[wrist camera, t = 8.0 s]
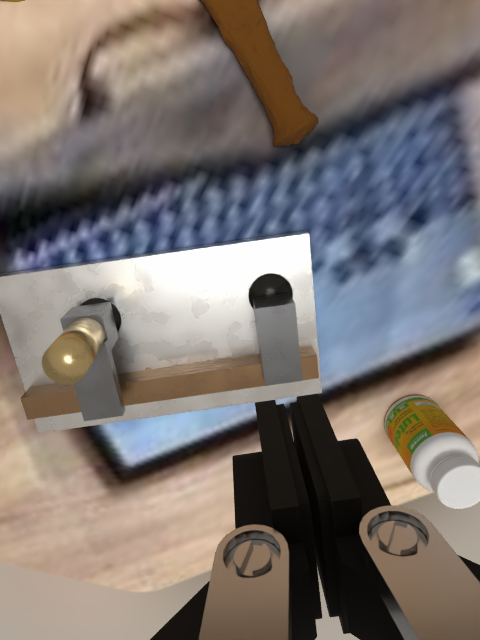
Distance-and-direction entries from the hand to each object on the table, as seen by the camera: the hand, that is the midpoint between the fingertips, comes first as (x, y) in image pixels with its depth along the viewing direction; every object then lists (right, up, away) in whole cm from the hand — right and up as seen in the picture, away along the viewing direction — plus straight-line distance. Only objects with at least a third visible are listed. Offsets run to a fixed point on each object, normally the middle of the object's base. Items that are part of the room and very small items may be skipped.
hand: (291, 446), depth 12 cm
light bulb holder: (-13, +1, +25) cm, 28 cm away
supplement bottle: (+15, -6, +31) cm, 35 cm away
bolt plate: (-8, +2, +27) cm, 28 cm away
